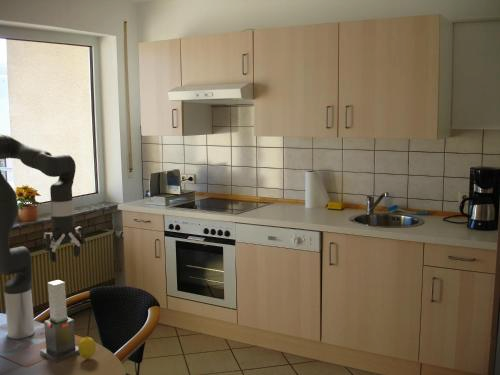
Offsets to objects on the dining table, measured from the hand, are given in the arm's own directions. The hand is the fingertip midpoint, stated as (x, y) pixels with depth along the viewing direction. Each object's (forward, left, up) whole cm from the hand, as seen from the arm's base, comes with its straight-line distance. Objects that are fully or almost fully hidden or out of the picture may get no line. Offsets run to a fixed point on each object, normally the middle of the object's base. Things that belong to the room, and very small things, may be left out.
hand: (65, 259), depth 189 cm
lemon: (+14, -2, -32) cm, 35 cm away
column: (+3, -5, -25) cm, 26 cm away
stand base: (+3, -5, -32) cm, 33 cm away
